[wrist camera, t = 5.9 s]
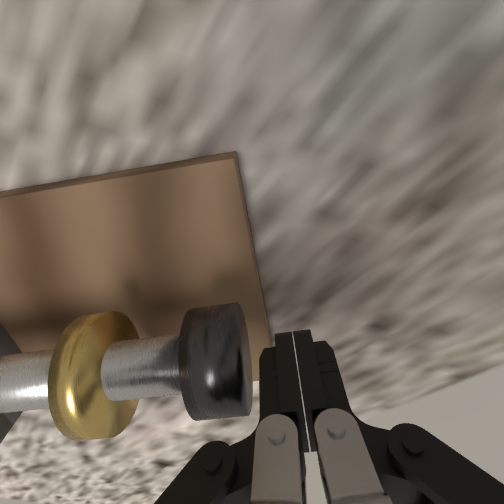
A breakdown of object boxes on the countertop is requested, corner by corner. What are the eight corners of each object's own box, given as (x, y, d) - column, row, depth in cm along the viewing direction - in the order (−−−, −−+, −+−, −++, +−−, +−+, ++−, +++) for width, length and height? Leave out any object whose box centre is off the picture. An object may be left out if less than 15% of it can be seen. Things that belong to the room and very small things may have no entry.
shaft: (235, 272, 14) (226, 360, 10) (253, 353, 16) (253, 453, 12) (-158, 326, 16) (-317, 422, 11) (-90, 392, 18) (-201, 492, 14)
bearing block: (235, 151, 15) (207, 253, 6) (274, 360, 22) (287, 553, 13) (-170, 221, 17) (-631, 374, 8) (-20, 393, 23) (-185, 581, 15)
